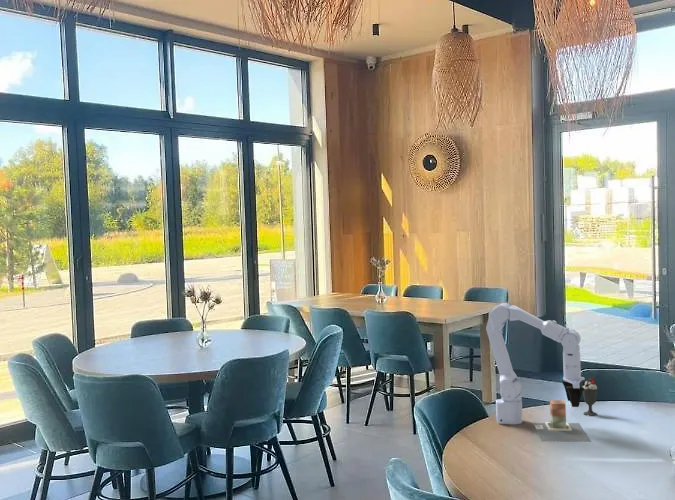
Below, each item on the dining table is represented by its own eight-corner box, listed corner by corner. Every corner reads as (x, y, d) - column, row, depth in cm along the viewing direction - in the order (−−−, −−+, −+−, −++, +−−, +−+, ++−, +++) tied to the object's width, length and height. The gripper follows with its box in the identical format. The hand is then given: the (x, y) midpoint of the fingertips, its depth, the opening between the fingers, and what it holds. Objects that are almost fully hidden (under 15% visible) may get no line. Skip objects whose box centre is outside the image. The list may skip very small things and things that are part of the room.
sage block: (553, 429, 229) (552, 416, 229) (550, 425, 234) (550, 412, 234) (566, 429, 229) (565, 416, 228) (563, 425, 233) (563, 412, 233)
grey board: (541, 443, 218) (541, 439, 218) (532, 425, 237) (532, 421, 237) (591, 444, 215) (591, 439, 215) (579, 425, 235) (578, 421, 235)
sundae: (601, 416, 244) (600, 376, 243) (582, 416, 245) (581, 376, 244) (598, 411, 250) (597, 372, 250) (579, 411, 251) (578, 372, 251)
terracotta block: (552, 416, 229) (552, 403, 229) (550, 412, 234) (550, 400, 233) (565, 416, 228) (565, 403, 228) (563, 412, 233) (563, 400, 233)
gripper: (588, 369, 222) (589, 409, 222) (579, 360, 236) (580, 398, 236) (566, 370, 223) (568, 409, 223) (559, 361, 237) (560, 398, 238)
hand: (573, 403), depth 230 cm, fingers open, 7 cm apart
